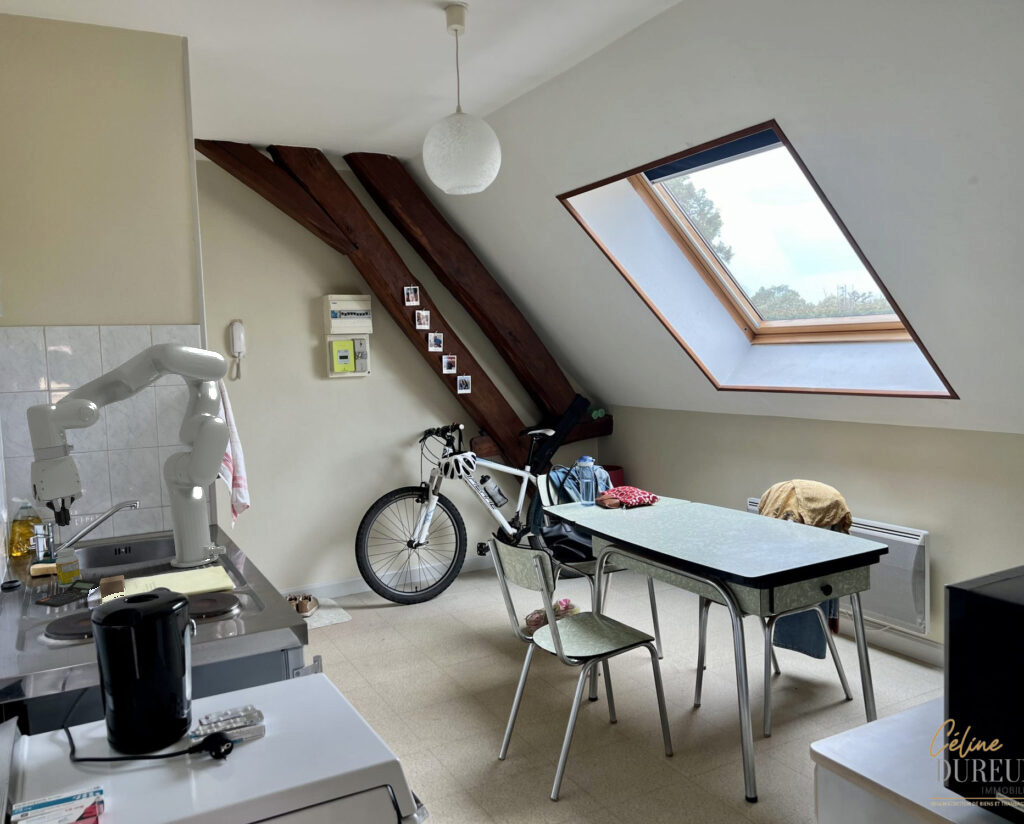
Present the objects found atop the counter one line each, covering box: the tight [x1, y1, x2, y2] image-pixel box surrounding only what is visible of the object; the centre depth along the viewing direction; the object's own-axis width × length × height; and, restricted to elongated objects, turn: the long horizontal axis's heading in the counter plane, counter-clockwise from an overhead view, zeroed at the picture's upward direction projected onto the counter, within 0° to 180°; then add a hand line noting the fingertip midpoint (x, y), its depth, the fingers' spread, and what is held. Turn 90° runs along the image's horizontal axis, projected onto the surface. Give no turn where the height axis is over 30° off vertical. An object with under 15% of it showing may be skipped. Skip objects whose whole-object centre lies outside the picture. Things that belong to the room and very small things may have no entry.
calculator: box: [34, 579, 100, 608], centre depth 199 cm, size 9×12×3 cm
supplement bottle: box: [55, 547, 82, 589], centre depth 211 cm, size 5×5×10 cm
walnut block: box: [99, 574, 126, 599], centre depth 196 cm, size 5×5×5 cm
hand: (63, 525), depth 198 cm, fingers closed
